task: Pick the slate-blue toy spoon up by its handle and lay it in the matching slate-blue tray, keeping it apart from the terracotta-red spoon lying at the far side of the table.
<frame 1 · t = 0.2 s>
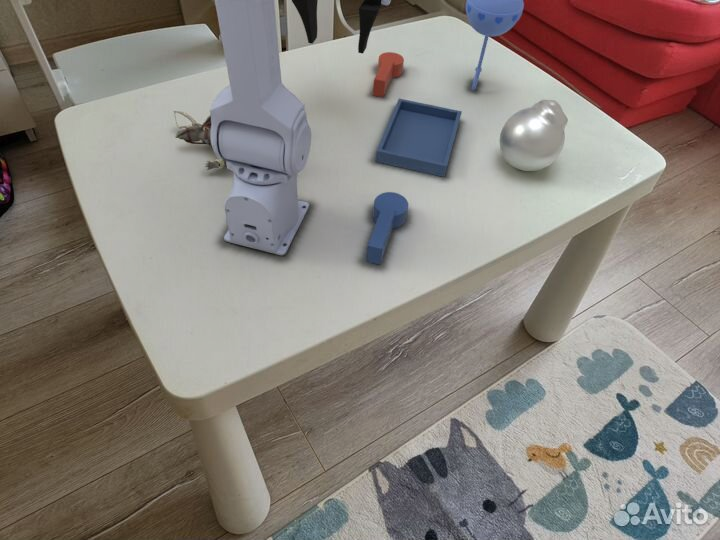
hand: (337, 45, 76), 10 cm above the table, tool pointing down, fingers open, 7 cm apart
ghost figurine: (523, 164, 77), on the table
baby rattle: (473, 89, 90), on the table
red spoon: (383, 85, 88), on the table
blue spoon: (380, 243, 65), on the table
blue tray: (419, 140, 79), on the table
figurine: (243, 141, 77), on the table
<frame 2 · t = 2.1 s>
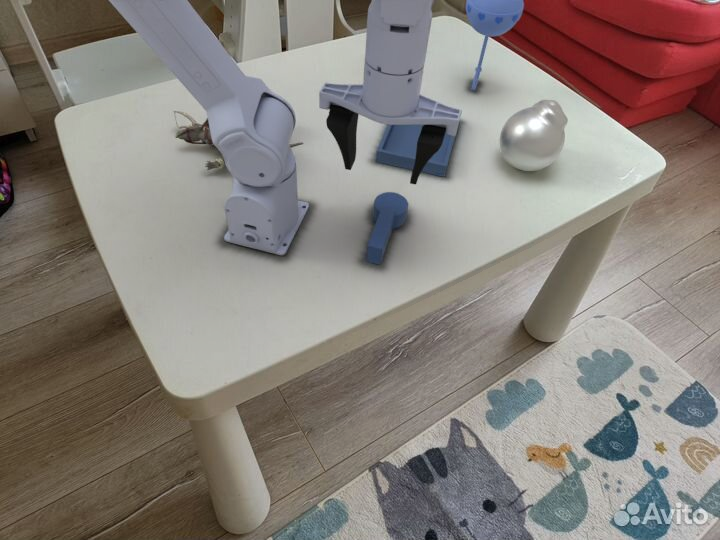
hand: (382, 171, 60), 9 cm above the table, tool pointing down, fingers open, 7 cm apart
nothing on the table moved.
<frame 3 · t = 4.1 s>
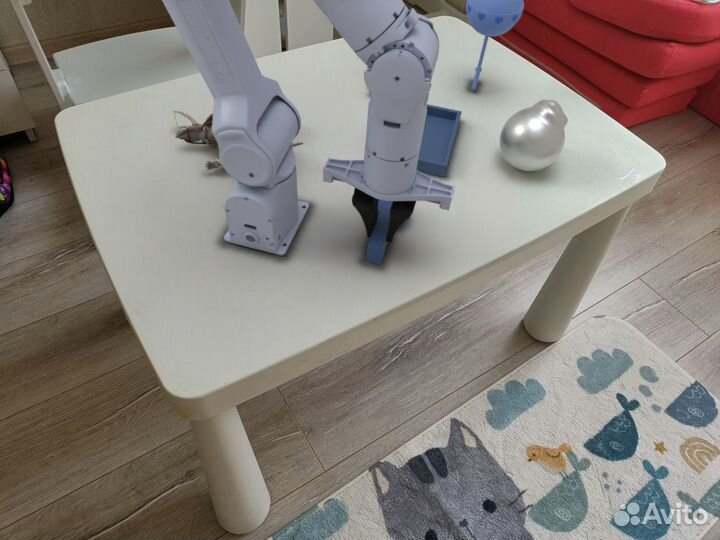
hand: (381, 234, 64), 2 cm above the table, tool pointing down, fingers closed on blue spoon, 2 cm apart
blue spoon: (379, 243, 65), on the table, touching gripper
everything else where it was.
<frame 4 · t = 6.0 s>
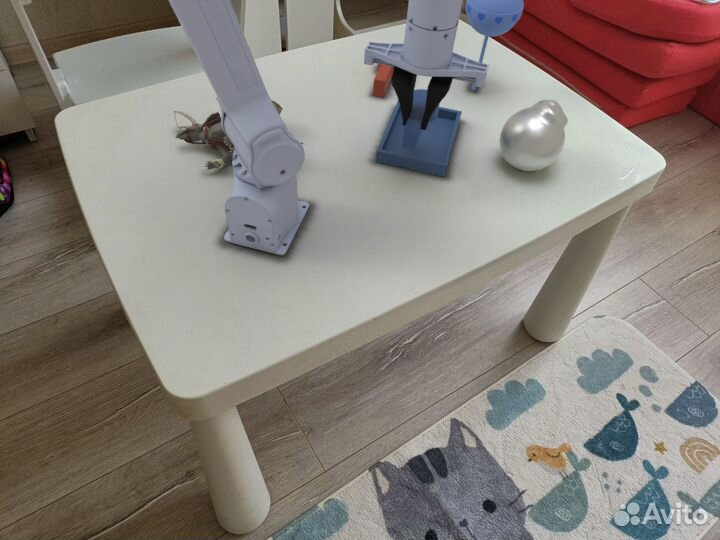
hand: (415, 123, 68), 8 cm above the table, tool pointing down, fingers closed on blue spoon
blue spoon: (413, 134, 69), point 7 cm above the table, touching gripper
everything else where it was.
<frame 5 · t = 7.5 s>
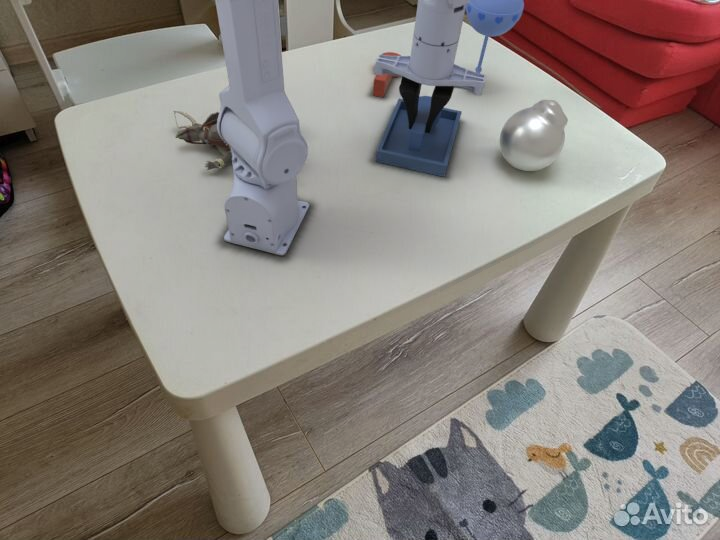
hand: (420, 127, 75), 4 cm above the table, tool pointing down, fingers closed on blue spoon, 2 cm apart
blue spoon: (418, 136, 76), point 2 cm above the table, touching gripper
everything else where it was.
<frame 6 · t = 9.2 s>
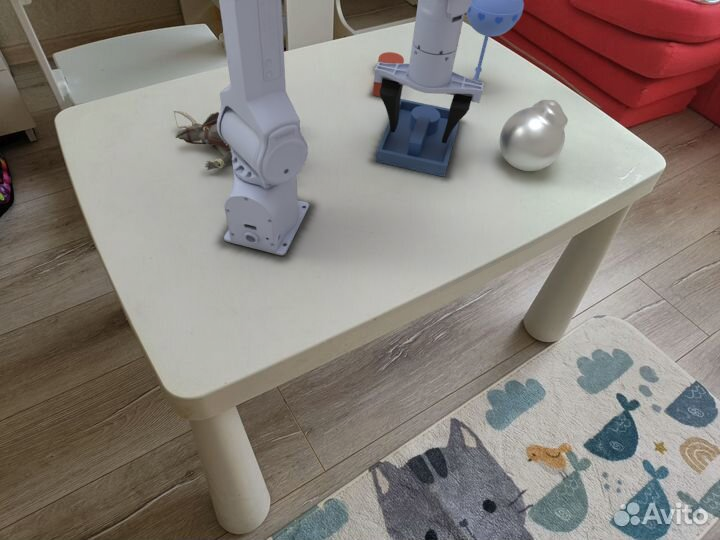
hand: (419, 133, 76), 3 cm above the table, tool pointing down, fingers open, 7 cm apart
blue spoon: (417, 145, 78), resting on blue tray
everything else where it was.
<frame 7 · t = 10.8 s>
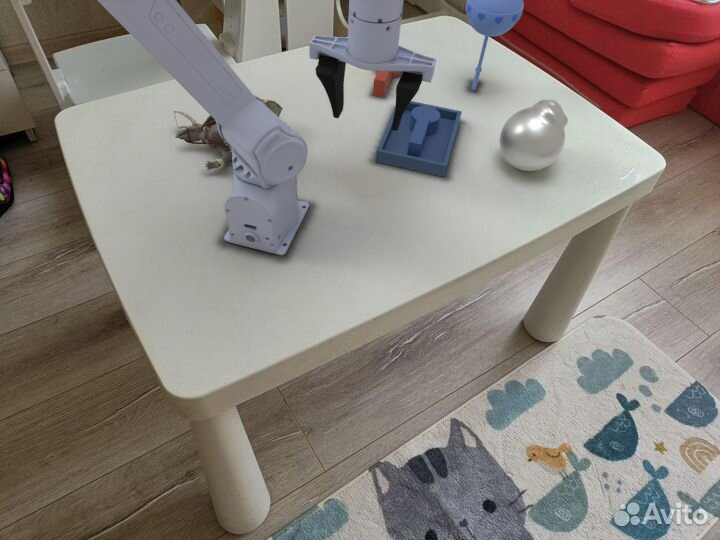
hand: (366, 119, 66), 9 cm above the table, tool pointing down, fingers open, 7 cm apart
nothing on the table moved.
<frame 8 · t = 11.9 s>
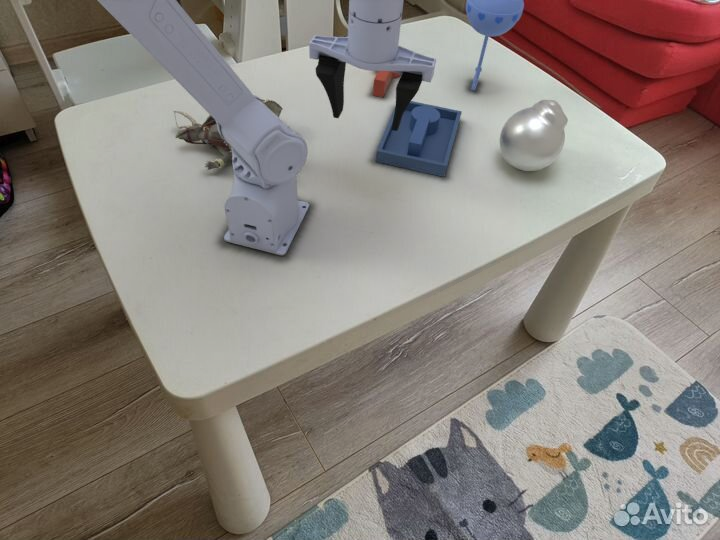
hand: (366, 119, 66), 9 cm above the table, tool pointing down, fingers open, 7 cm apart
nothing on the table moved.
at the end: blue spoon inside the target area in the blue tray (1.0 cm from its centre), point 0.5 cm above the blue tray's base; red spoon moved 0.0 cm from its start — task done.
